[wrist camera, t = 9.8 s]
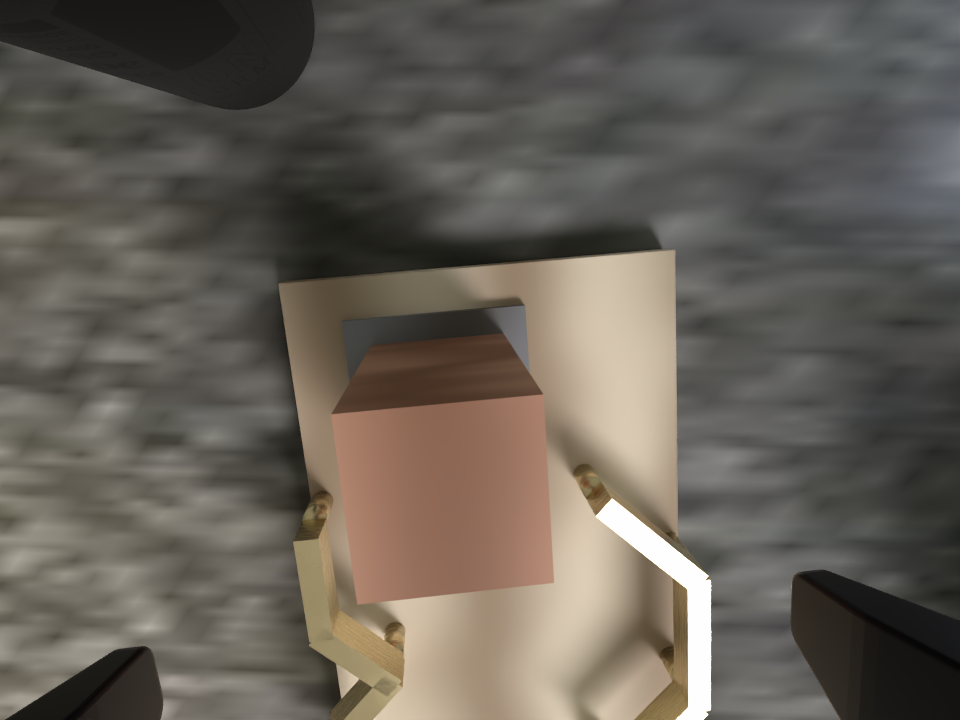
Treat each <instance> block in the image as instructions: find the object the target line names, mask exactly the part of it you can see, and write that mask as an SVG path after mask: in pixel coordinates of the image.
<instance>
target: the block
mask: <svg viewBox="0 0 960 720" xmlns="http://www.w3.org/2000/svg"><path fill="white" fill-rule="evenodd" d="M331 417H332V425H333V432H334V439H335V447H336V454H337V461H338V469H339V476H340V483H341V491H342V498H343V505H344V513H345V520H346V527H347V535H348V542H349V549H350V557H351V564H352V571H353V579H354V586H355V593H356V601H357V605H359V604H368V603H377V602H386V601H395V600H404V599H413V598H422V597H431V596H440V595H450V594H459V593H468V592H477V591H486V590H495V589H504V588H513V587H522V586H531V585H540V584H549V583H554V571H553V553H552V535H551V518H550V500H549V482H548V465H547V447H546V429H545V412H544V394H543V393H542V391H541V390H540V388H539V387H538V385H537V384H536V382H535V381H534V379H533V377H532V376H531V374H530V373H529V371H528V370H527V368H526V367H525V365H524V364H523V362H522V361H521V359H520V358H519V356H518V355H517V353H516V352H515V350H514V348H513V347H512V345H511V344H510V342H509V341H508V339H507V338H506V336H505V335H504V333H502V334H491V335H479V336H468V337H457V338H445V339H434V340H423V341H411V342H400V343H389V344H378V345H371V346H370V348H369V350H368V352H367V353H366V355H365V357H364V359H363V360H362V362H361V364H360V365H359V367H358V369H357V371H356V372H355V374H354V376H353V377H352V379H351V381H350V383H349V384H348V386H347V388H346V390H345V391H344V393H343V395H342V396H341V398H340V400H339V402H338V403H337V405H336V407H335V408H334V410H333V412H332V414H331Z"/></svg>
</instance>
